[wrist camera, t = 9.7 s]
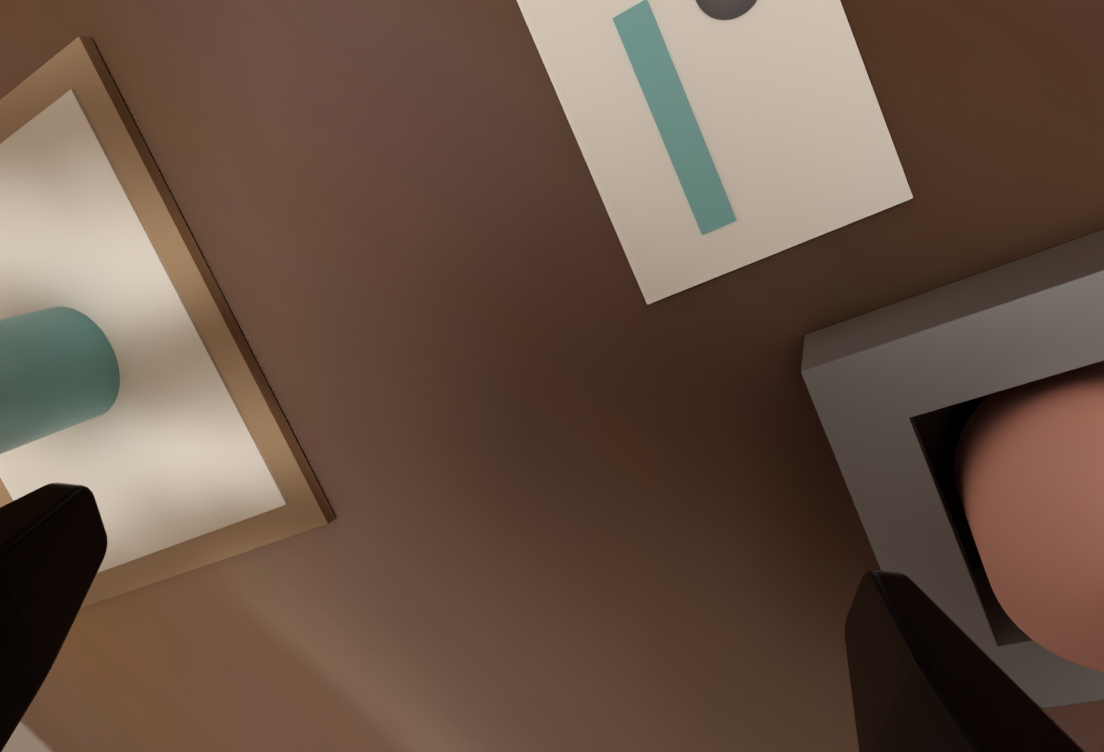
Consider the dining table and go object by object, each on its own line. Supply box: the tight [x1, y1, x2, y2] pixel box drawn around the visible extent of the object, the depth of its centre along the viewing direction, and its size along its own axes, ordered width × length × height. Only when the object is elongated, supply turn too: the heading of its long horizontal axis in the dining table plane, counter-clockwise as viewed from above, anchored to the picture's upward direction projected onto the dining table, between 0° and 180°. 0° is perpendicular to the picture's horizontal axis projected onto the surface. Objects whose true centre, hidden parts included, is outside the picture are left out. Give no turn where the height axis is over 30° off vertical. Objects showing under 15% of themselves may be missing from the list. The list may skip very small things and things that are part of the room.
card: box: [517, 0, 913, 305], centre depth 17 cm, size 8×6×1 cm
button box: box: [801, 229, 1104, 708], centre depth 15 cm, size 8×8×3 cm
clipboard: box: [0, 37, 336, 608], centre depth 25 cm, size 15×13×1 cm
